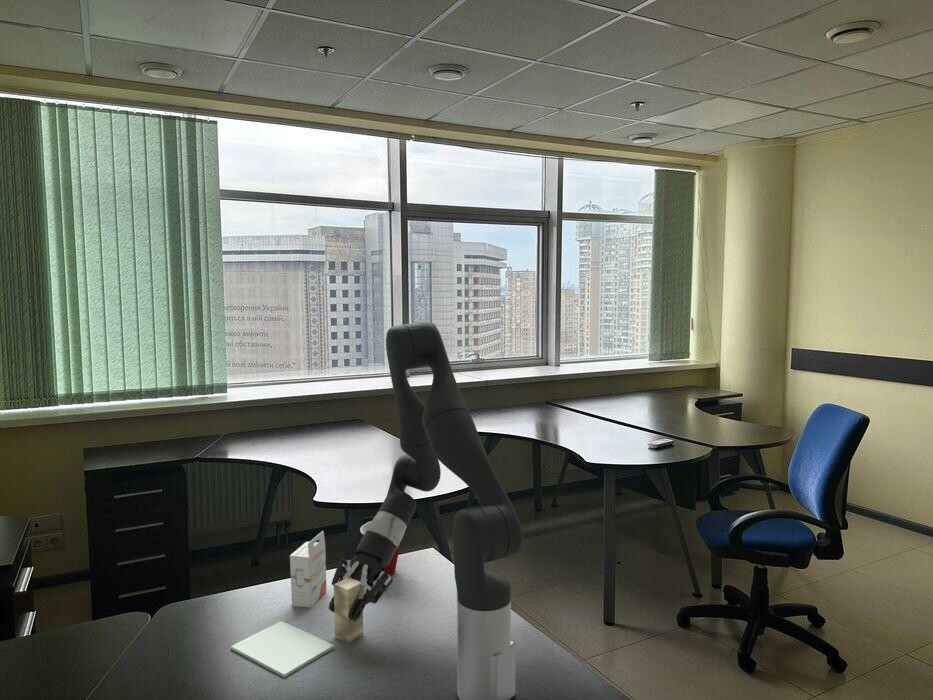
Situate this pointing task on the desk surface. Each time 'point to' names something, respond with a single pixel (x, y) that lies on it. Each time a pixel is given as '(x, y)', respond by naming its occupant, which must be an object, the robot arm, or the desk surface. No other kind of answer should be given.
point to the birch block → (346, 610)
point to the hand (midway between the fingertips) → (341, 614)
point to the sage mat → (282, 648)
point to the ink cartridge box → (308, 572)
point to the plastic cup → (392, 565)
